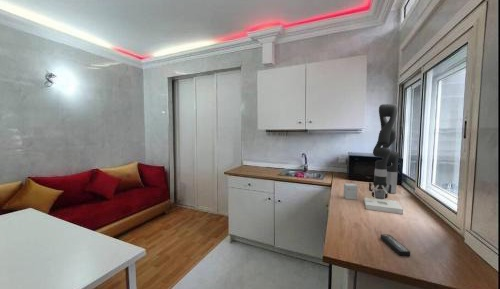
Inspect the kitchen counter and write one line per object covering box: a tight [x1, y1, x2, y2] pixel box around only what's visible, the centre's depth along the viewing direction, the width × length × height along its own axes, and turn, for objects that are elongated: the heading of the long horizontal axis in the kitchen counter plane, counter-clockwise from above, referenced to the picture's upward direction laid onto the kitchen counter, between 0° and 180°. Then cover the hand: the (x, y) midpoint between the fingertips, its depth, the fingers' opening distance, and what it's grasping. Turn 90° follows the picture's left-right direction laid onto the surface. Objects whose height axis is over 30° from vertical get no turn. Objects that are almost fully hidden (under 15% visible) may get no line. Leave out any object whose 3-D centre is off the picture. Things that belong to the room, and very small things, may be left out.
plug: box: [374, 189, 385, 200], centre depth 156 cm, size 5×5×8 cm
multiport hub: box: [380, 233, 411, 257], centre depth 97 cm, size 4×14×2 cm, turn 178°
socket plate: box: [363, 197, 404, 215], centre depth 144 cm, size 16×20×4 cm
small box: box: [343, 183, 358, 200], centre depth 163 cm, size 8×6×10 cm
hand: (379, 197), depth 156 cm, fingers open, 7 cm apart
